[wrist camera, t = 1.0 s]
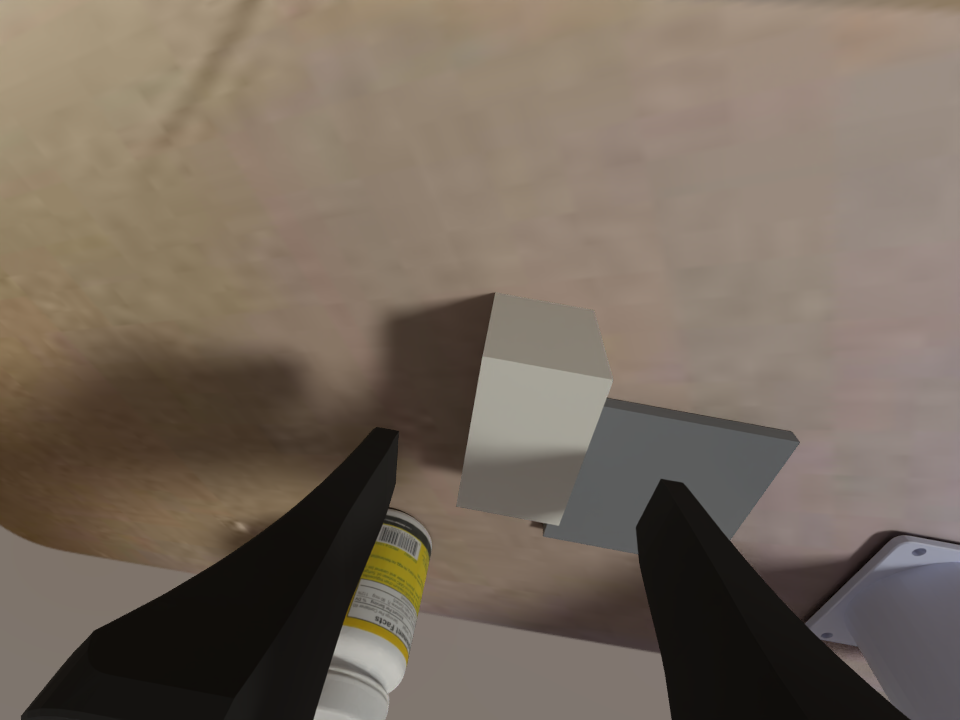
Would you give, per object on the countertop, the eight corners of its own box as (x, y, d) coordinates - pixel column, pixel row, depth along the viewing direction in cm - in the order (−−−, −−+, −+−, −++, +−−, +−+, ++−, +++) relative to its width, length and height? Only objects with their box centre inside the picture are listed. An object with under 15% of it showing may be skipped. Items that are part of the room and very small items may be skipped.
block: (593, 308, 15) (613, 380, 12) (543, 468, 20) (546, 559, 16) (495, 291, 15) (482, 356, 12) (466, 454, 20) (449, 541, 16)
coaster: (792, 431, 17) (799, 442, 16) (706, 556, 21) (710, 567, 21) (588, 394, 17) (589, 403, 17) (542, 525, 21) (543, 536, 21)
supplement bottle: (360, 564, 25) (289, 756, 17) (332, 506, 22) (236, 700, 15) (443, 563, 24) (403, 764, 17) (422, 502, 21) (365, 707, 14)
